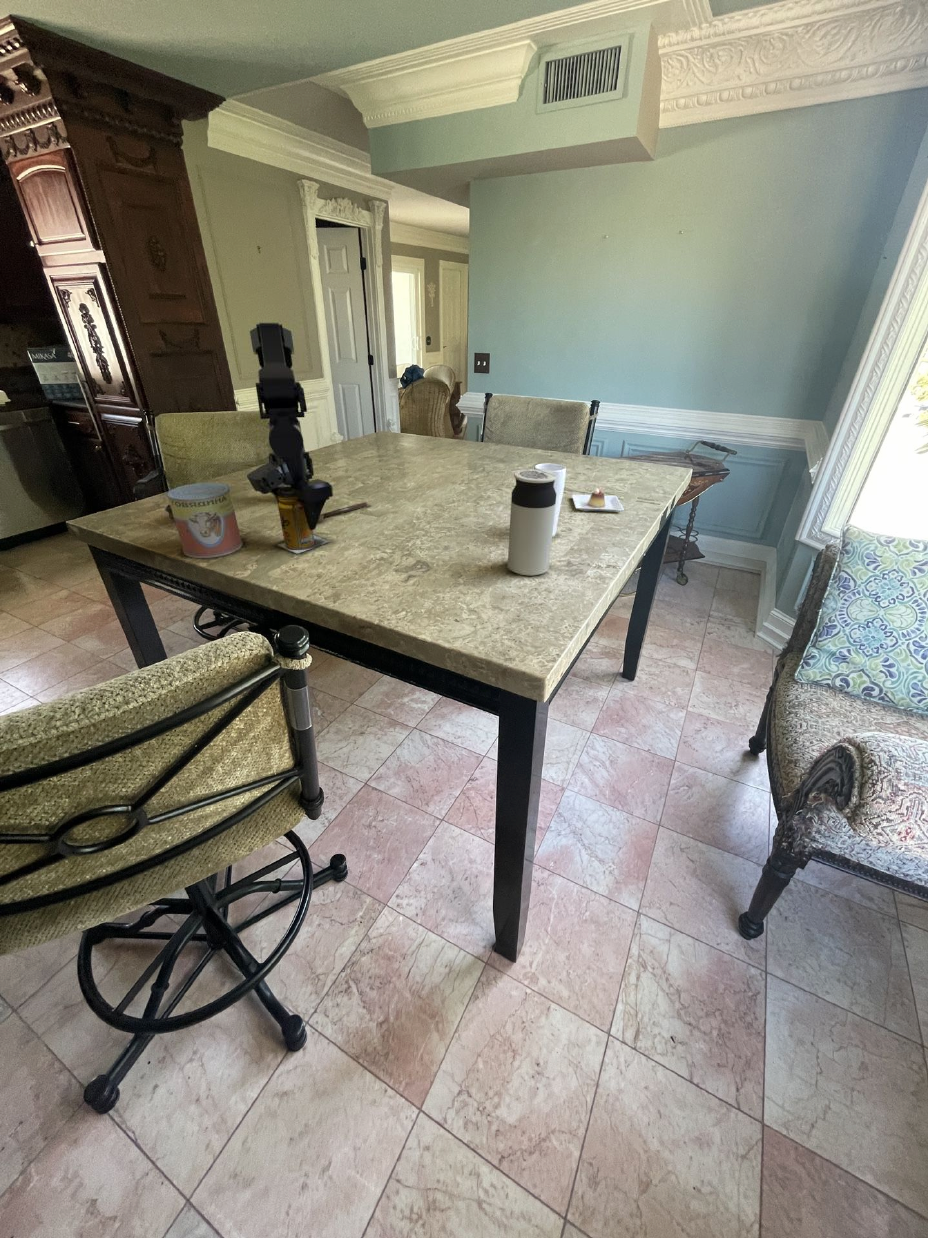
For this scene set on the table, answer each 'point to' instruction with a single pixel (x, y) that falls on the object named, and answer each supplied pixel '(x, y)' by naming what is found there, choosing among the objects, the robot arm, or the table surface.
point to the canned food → (205, 519)
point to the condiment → (295, 523)
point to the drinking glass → (555, 486)
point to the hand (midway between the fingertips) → (300, 524)
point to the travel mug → (531, 522)
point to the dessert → (597, 502)
